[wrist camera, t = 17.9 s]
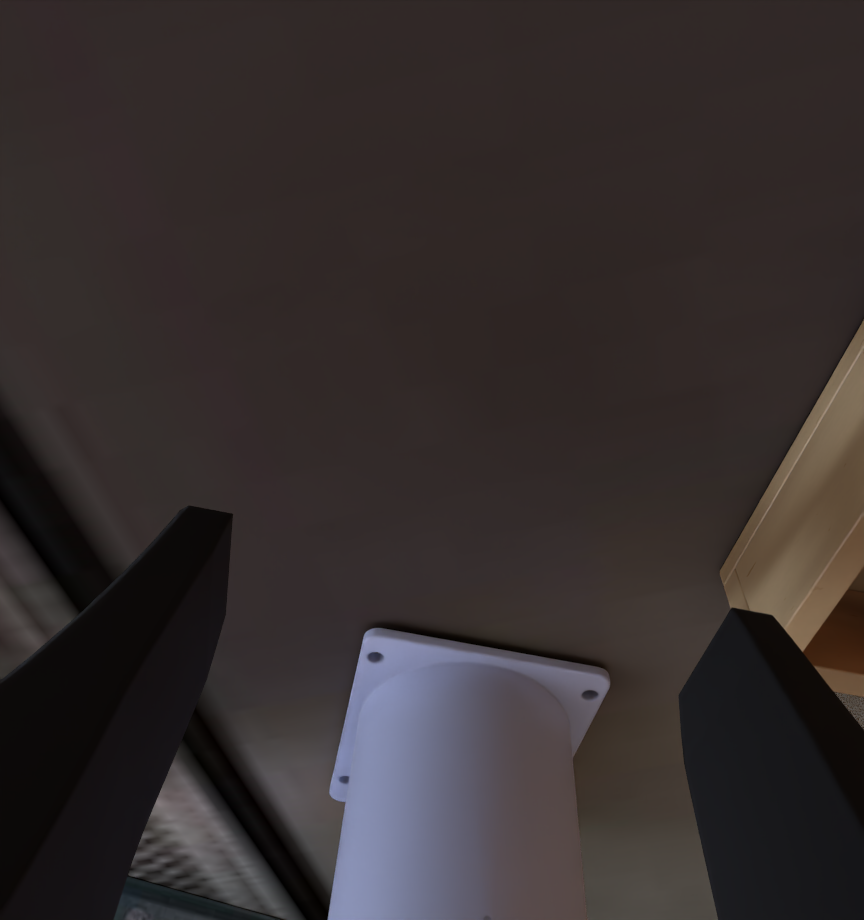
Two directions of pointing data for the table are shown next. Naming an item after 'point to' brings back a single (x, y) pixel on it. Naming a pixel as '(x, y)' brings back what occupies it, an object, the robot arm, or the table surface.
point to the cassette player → (174, 905)
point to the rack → (814, 535)
